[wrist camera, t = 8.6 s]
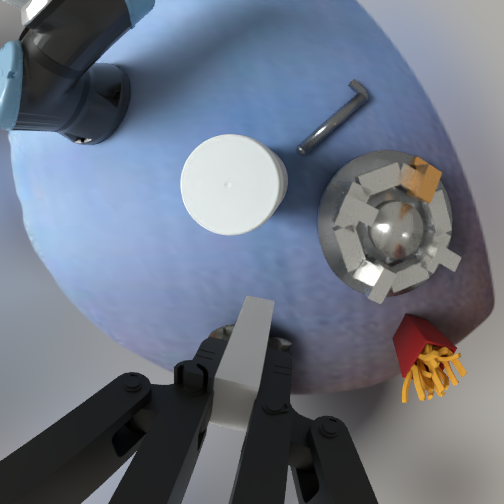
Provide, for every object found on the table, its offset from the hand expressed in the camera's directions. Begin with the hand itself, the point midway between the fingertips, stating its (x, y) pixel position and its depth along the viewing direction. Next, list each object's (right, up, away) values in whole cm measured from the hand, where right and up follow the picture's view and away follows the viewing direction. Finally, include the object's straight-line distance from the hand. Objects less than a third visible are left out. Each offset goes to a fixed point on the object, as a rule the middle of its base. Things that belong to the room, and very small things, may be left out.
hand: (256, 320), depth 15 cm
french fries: (+26, -10, +25) cm, 38 cm away
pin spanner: (+11, +21, +19) cm, 31 cm away
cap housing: (+19, +8, +22) cm, 30 cm away
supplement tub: (0, +13, +23) cm, 27 cm away
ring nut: (+18, +7, +19) cm, 27 cm away
